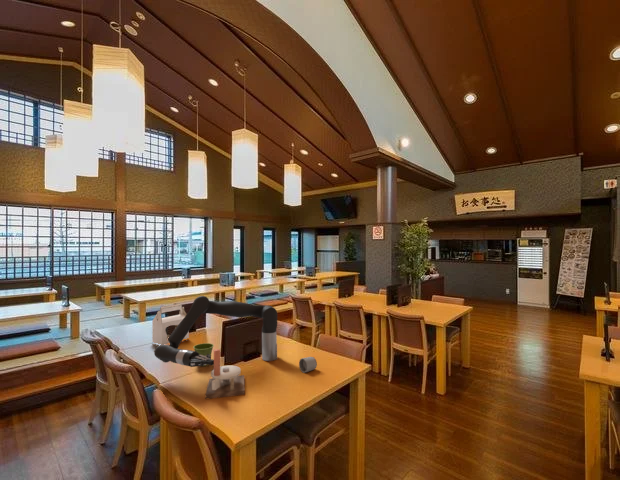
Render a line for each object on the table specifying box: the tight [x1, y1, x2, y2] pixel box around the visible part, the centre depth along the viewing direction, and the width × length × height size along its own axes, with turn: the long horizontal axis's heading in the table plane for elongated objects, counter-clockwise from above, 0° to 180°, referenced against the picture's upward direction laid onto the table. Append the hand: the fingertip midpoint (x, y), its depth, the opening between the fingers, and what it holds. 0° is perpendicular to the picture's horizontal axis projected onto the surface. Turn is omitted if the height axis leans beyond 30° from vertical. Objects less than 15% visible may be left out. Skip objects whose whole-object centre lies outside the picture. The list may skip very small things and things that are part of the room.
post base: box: [204, 374, 245, 400], centre depth 155 cm, size 18×18×8 cm
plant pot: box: [192, 342, 215, 367], centre depth 187 cm, size 12×12×11 cm
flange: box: [210, 348, 242, 390], centre depth 155 cm, size 15×14×17 cm
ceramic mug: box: [298, 356, 318, 373], centre depth 177 cm, size 11×8×8 cm
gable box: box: [151, 303, 190, 345], centre depth 233 cm, size 22×13×28 cm, turn 145°
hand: (214, 362), depth 151 cm, fingers closed
